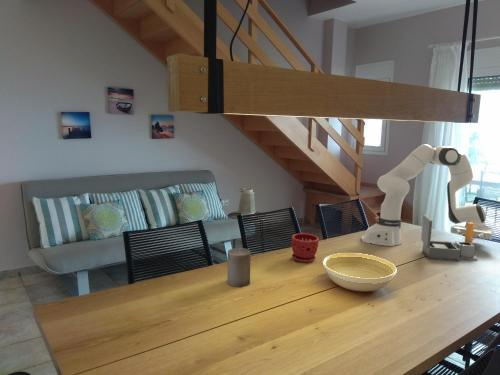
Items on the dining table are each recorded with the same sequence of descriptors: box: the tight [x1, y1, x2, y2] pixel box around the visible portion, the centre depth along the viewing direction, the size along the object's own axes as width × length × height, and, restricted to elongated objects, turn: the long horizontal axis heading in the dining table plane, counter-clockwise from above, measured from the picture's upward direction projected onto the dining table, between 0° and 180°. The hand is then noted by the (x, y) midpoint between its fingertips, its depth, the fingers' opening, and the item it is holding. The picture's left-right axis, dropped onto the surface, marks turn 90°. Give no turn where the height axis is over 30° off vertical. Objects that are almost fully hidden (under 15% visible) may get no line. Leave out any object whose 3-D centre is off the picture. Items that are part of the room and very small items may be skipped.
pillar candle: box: [226, 247, 252, 288], centre depth 160 cm, size 10×10×15 cm
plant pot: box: [291, 233, 320, 264], centre depth 190 cm, size 13×13×12 cm
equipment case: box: [420, 214, 460, 262], centre depth 200 cm, size 15×14×20 cm
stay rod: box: [464, 222, 474, 244], centre depth 208 cm, size 4×4×16 cm
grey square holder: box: [454, 241, 478, 261], centre depth 200 cm, size 10×10×7 cm
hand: (468, 234), depth 208 cm, fingers open, 8 cm apart
